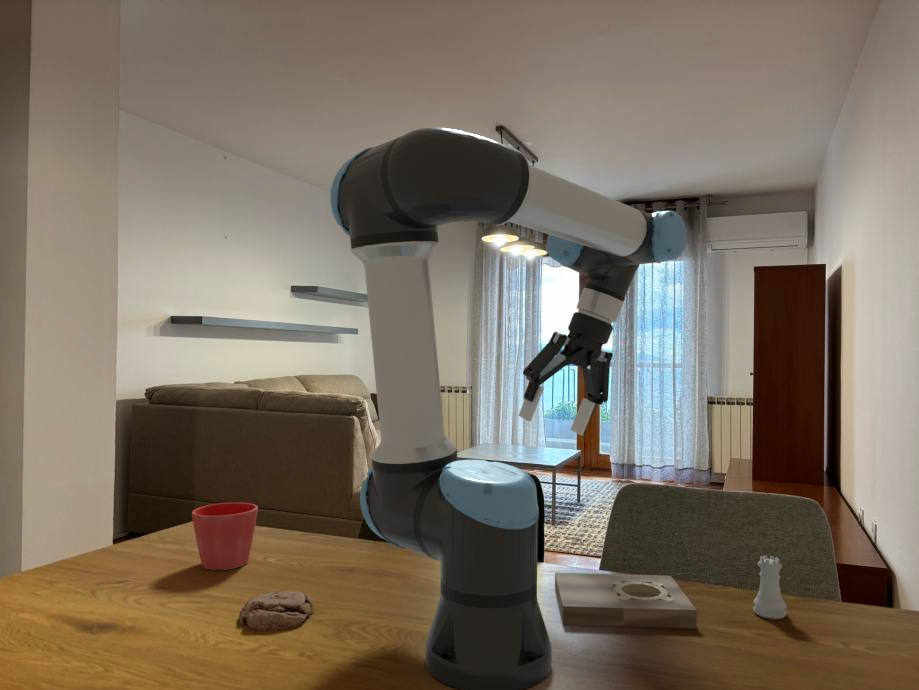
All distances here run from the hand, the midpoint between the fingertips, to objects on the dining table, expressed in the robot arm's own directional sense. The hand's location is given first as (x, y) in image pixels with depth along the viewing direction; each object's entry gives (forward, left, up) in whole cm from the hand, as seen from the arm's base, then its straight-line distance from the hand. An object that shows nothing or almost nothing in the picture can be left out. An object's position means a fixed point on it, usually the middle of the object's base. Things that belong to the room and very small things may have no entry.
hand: (551, 426), depth 121 cm
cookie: (-30, +41, -25) cm, 56 cm away
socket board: (-23, -8, -24) cm, 34 cm away
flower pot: (-8, +58, -24) cm, 63 cm away
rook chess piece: (-24, -29, -24) cm, 45 cm away
